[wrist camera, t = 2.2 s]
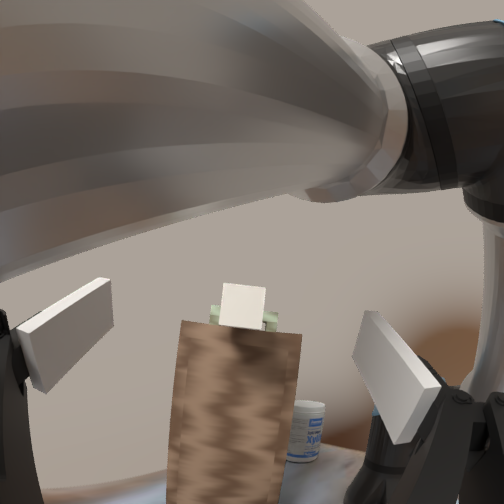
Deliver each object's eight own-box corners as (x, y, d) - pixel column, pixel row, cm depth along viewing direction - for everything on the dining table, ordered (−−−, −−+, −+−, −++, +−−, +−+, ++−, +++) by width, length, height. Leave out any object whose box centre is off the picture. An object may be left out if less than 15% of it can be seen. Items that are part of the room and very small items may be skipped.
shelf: (266, 488, 38) (288, 317, 49) (272, 528, 25) (304, 308, 35) (183, 478, 39) (201, 307, 49) (165, 514, 25) (185, 294, 35)
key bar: (255, 330, 43) (258, 305, 44) (261, 329, 26) (265, 287, 27) (229, 327, 43) (232, 302, 44) (218, 324, 26) (223, 282, 27)
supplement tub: (310, 466, 49) (320, 409, 54) (272, 458, 54) (280, 403, 58) (321, 453, 57) (330, 402, 62) (287, 447, 62) (294, 398, 66)
